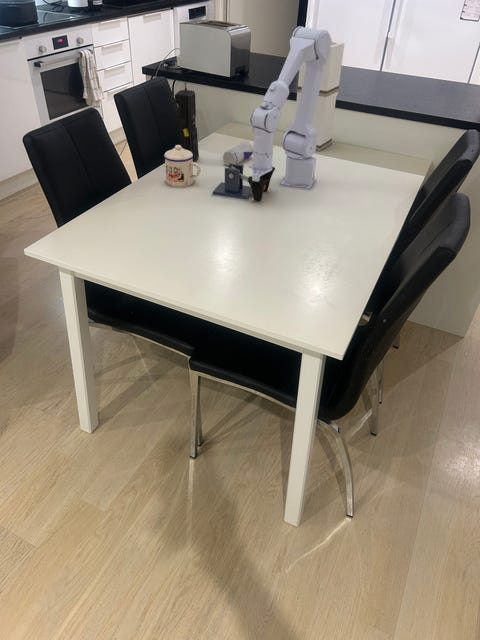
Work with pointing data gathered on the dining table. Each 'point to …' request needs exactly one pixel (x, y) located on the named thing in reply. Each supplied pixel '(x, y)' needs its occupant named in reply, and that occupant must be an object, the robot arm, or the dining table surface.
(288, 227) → the dining table surface
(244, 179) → the lever
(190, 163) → the teacup with lid
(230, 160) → the energy drink
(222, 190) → the bracket
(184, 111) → the portable radio
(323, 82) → the tall banded cream box
